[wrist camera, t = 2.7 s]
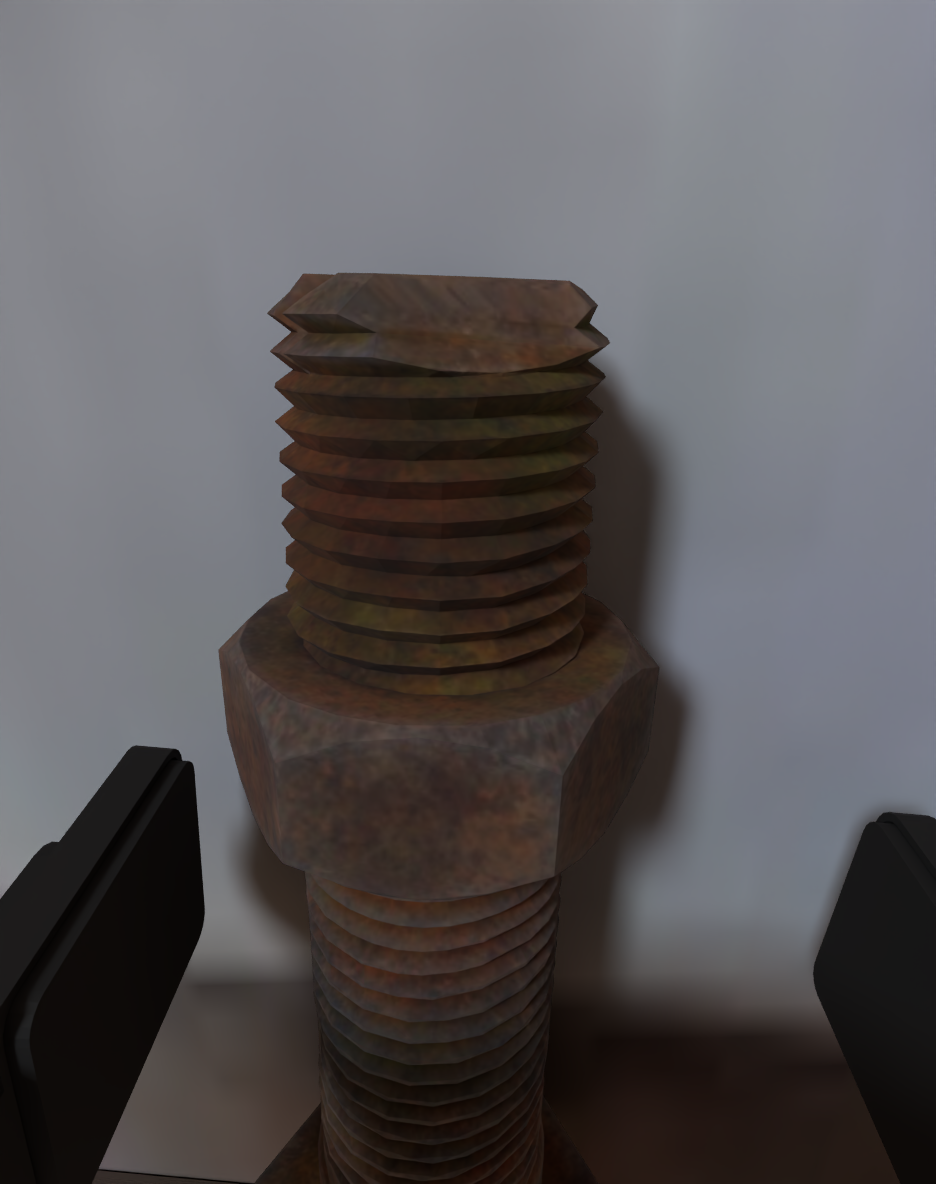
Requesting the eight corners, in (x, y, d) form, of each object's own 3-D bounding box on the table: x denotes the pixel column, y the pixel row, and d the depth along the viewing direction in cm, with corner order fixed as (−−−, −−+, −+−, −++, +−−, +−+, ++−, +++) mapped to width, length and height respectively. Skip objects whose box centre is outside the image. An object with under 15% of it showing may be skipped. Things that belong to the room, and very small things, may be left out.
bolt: (512, 285, 11) (480, 1049, 16) (120, 272, 8) (237, 1164, 14) (902, 287, 6) (667, 1372, 11) (231, 254, 4) (342, 1628, 9)
